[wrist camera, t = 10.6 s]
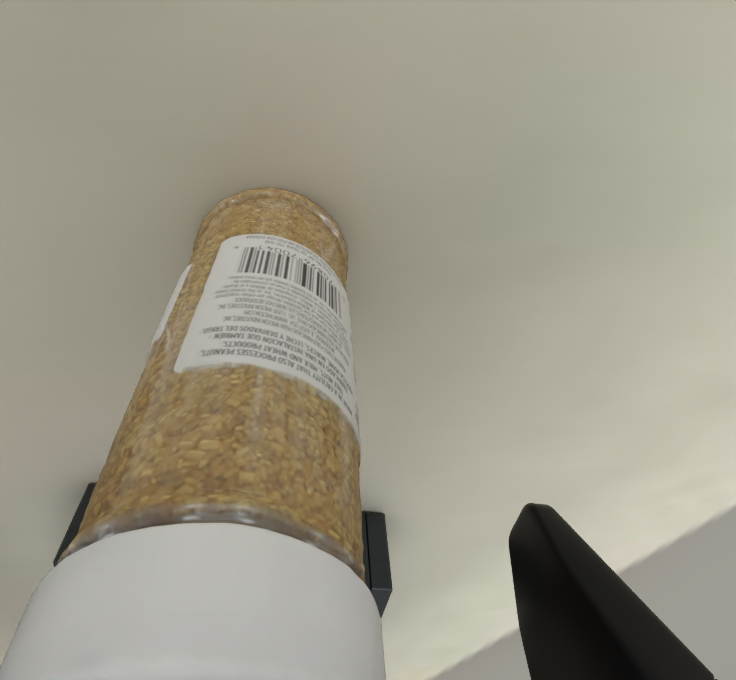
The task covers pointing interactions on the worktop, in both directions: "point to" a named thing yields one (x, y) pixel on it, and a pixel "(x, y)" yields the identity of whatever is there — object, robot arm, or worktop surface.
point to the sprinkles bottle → (226, 480)
